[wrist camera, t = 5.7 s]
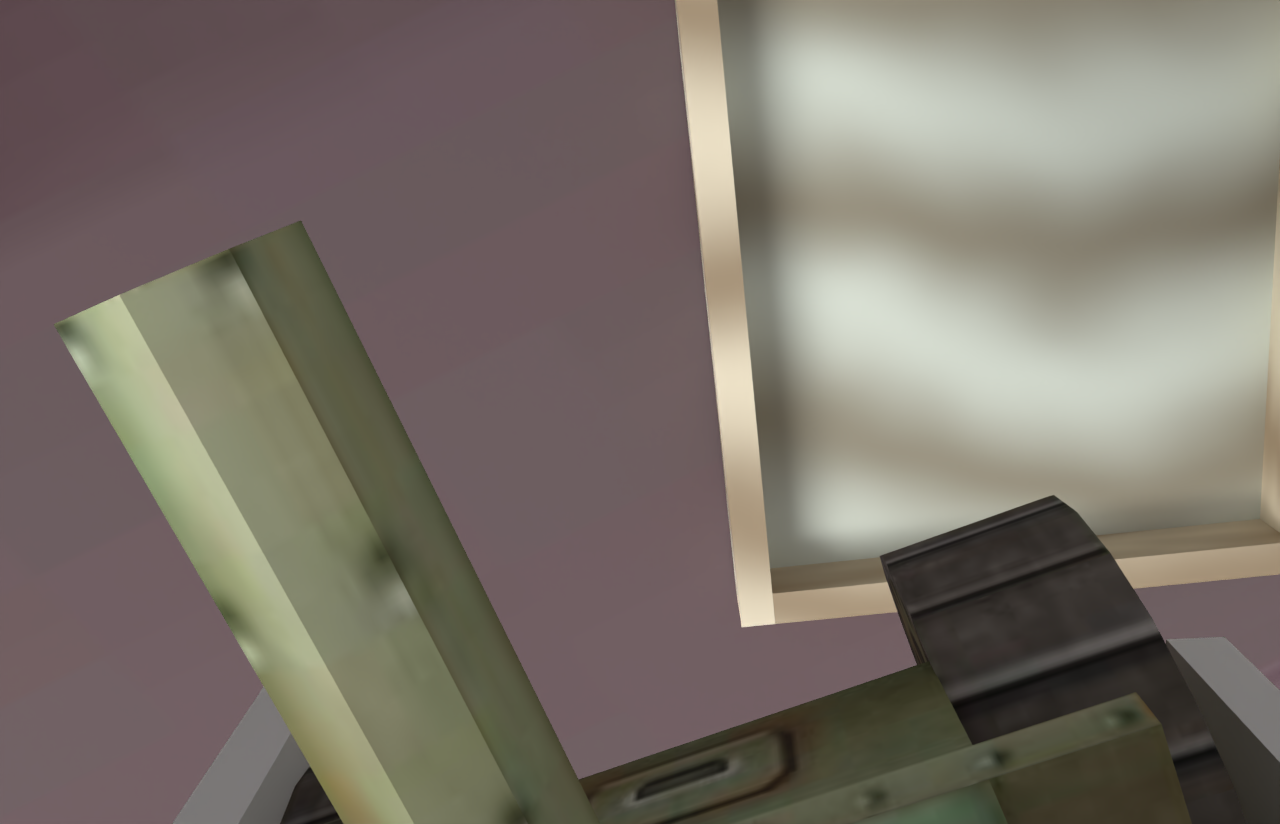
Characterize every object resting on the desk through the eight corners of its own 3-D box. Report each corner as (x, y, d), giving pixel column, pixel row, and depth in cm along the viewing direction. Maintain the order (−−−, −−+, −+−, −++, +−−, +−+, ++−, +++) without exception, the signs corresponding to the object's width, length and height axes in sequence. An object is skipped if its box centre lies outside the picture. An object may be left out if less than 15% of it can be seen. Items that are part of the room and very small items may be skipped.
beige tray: (657, -169, 27) (656, -195, 25) (1324, -263, 26) (1390, -299, 24) (736, 589, 33) (741, 626, 31) (1276, 535, 33) (1325, 570, 30)
